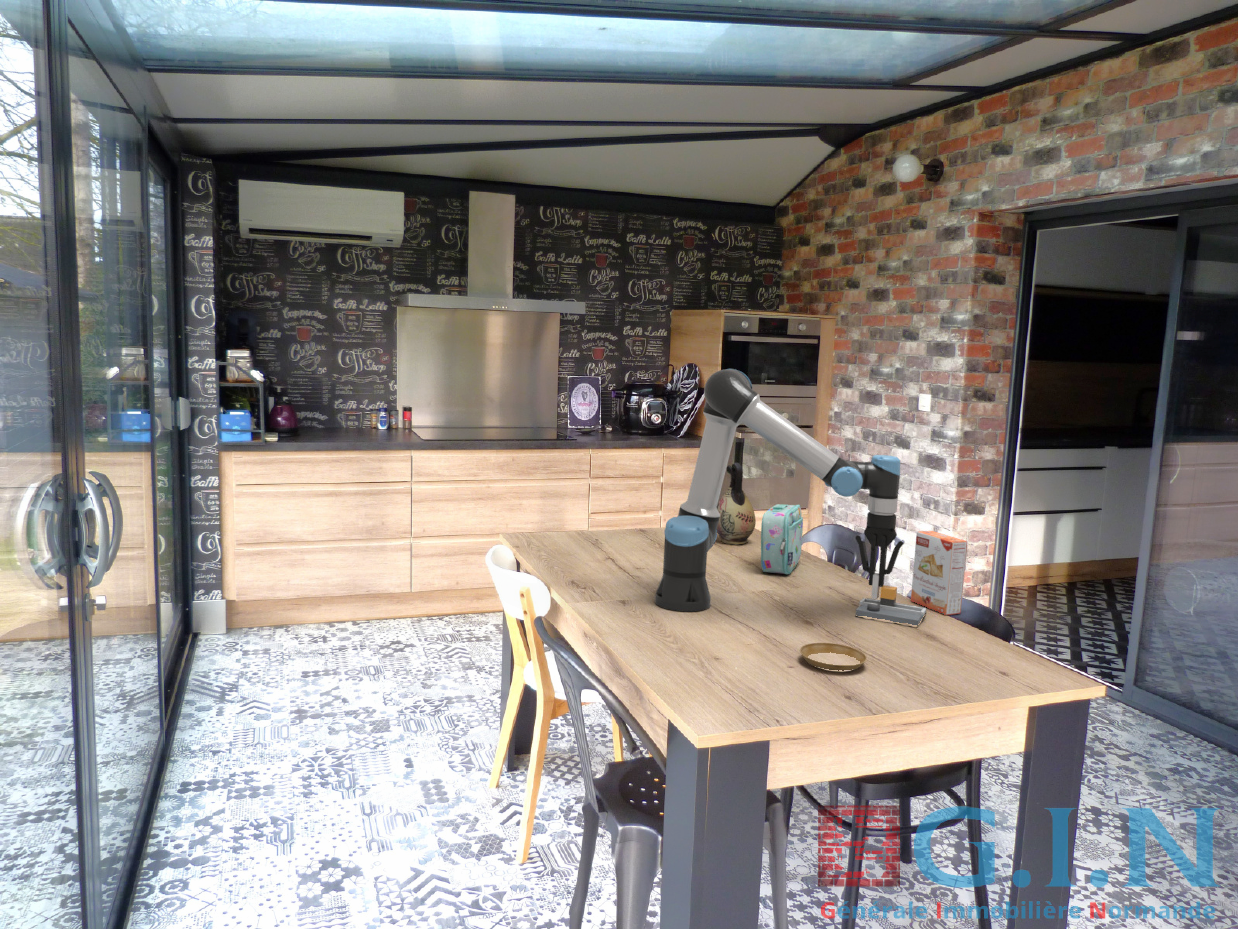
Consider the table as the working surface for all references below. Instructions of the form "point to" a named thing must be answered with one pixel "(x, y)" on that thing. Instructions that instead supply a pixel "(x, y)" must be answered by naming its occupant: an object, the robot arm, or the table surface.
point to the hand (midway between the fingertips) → (875, 597)
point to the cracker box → (939, 572)
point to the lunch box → (781, 538)
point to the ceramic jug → (735, 510)
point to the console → (891, 611)
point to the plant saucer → (833, 648)
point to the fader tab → (888, 595)
